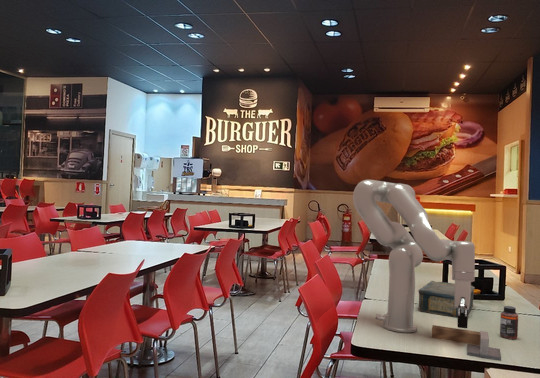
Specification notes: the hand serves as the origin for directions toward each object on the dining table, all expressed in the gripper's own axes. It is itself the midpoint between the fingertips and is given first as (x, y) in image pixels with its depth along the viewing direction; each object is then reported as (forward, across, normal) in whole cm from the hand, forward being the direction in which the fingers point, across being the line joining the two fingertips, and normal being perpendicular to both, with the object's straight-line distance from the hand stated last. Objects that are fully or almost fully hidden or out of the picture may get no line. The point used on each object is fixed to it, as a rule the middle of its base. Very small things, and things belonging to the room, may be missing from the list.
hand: (462, 324), depth 173 cm
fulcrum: (+6, +11, +7) cm, 14 cm away
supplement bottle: (+7, -16, +16) cm, 24 cm away
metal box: (+6, -53, -8) cm, 54 cm away
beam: (+6, 0, -1) cm, 6 cm away
